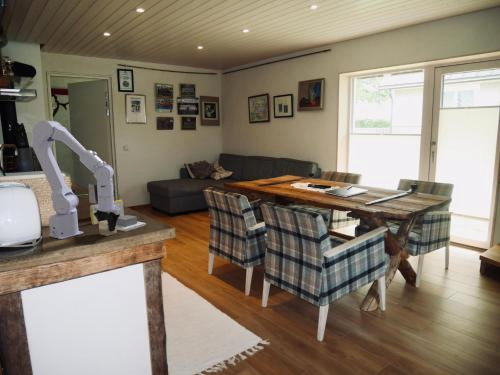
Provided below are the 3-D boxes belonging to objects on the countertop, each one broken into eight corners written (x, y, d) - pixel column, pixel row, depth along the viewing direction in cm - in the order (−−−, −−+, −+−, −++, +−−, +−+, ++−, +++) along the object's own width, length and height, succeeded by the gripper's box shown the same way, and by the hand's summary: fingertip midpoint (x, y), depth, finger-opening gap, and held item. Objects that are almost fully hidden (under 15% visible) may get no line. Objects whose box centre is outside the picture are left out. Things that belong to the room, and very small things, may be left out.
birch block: (107, 235, 138) (106, 223, 137) (99, 234, 140) (98, 221, 139) (116, 233, 142) (115, 220, 141) (109, 231, 144) (108, 219, 143)
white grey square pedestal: (125, 231, 144) (124, 221, 143) (107, 227, 149) (107, 218, 149) (146, 225, 153) (145, 216, 152) (128, 221, 159) (128, 213, 158)
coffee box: (97, 219, 163) (95, 184, 160) (89, 217, 167) (87, 183, 164) (115, 215, 170) (113, 182, 168) (107, 213, 174) (105, 181, 171)
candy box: (121, 216, 169) (120, 199, 168) (124, 217, 168) (123, 199, 167) (91, 224, 156) (89, 205, 154) (94, 224, 154) (92, 206, 153)
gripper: (126, 196, 138) (128, 230, 140) (102, 193, 146) (104, 225, 148) (111, 199, 132) (113, 234, 134) (87, 195, 140) (89, 229, 142)
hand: (107, 230), depth 141 cm, fingers closed on birch block, 4 cm apart
